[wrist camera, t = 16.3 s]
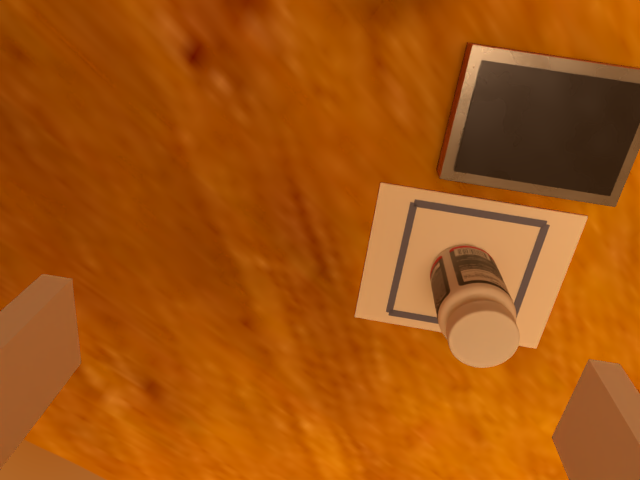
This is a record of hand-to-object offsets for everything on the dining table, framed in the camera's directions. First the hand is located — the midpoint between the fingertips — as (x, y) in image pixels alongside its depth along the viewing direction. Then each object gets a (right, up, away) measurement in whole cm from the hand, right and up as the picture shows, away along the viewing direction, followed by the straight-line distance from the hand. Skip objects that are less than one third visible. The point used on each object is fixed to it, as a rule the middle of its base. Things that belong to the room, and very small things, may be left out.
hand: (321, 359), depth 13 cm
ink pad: (+14, +10, +19) cm, 26 cm away
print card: (+10, +1, +24) cm, 26 cm away
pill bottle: (+10, +1, +24) cm, 26 cm away
